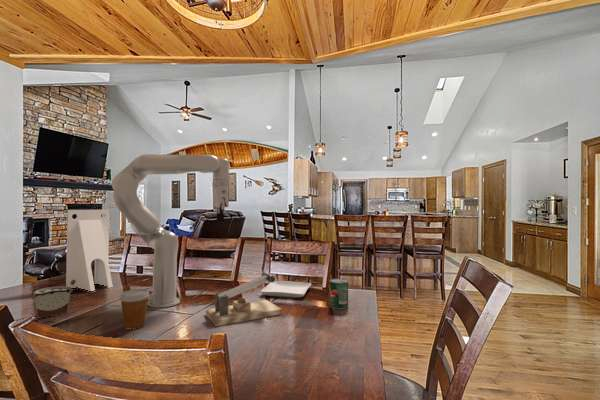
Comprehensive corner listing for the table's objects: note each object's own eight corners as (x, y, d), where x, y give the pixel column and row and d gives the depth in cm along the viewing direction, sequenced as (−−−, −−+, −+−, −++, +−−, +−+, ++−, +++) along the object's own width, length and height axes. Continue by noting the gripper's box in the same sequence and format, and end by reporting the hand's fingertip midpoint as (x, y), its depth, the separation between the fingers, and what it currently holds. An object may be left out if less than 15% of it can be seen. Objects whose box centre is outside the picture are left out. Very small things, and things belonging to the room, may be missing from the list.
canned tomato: (325, 306, 138) (326, 280, 139) (336, 302, 144) (337, 277, 144) (341, 310, 133) (341, 283, 133) (351, 306, 139) (352, 280, 139)
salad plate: (304, 300, 147) (304, 293, 147) (259, 297, 152) (259, 290, 152) (312, 289, 168) (312, 282, 168) (272, 286, 172) (272, 280, 172)
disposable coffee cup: (128, 321, 119) (129, 288, 119) (154, 321, 119) (154, 288, 119) (113, 331, 110) (113, 295, 110) (140, 332, 109) (141, 296, 109)
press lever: (223, 303, 119) (221, 297, 119) (217, 298, 126) (215, 292, 126) (277, 280, 131) (276, 274, 130) (268, 276, 137) (267, 271, 137)
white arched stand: (80, 294, 154) (81, 210, 155) (65, 290, 162) (67, 209, 162) (121, 285, 171) (123, 209, 172) (107, 282, 179) (108, 209, 179)
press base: (216, 326, 115) (216, 300, 115) (206, 314, 127) (206, 291, 127) (281, 314, 128) (281, 291, 128) (266, 304, 140) (266, 283, 140)
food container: (69, 308, 133) (69, 284, 133) (72, 312, 128) (72, 287, 129) (30, 315, 124) (30, 289, 124) (32, 320, 120) (32, 292, 120)
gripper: (233, 183, 153) (232, 222, 153) (224, 185, 166) (223, 221, 166) (217, 182, 149) (216, 222, 149) (209, 184, 162) (208, 221, 162)
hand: (220, 221), depth 157 cm, fingers closed
